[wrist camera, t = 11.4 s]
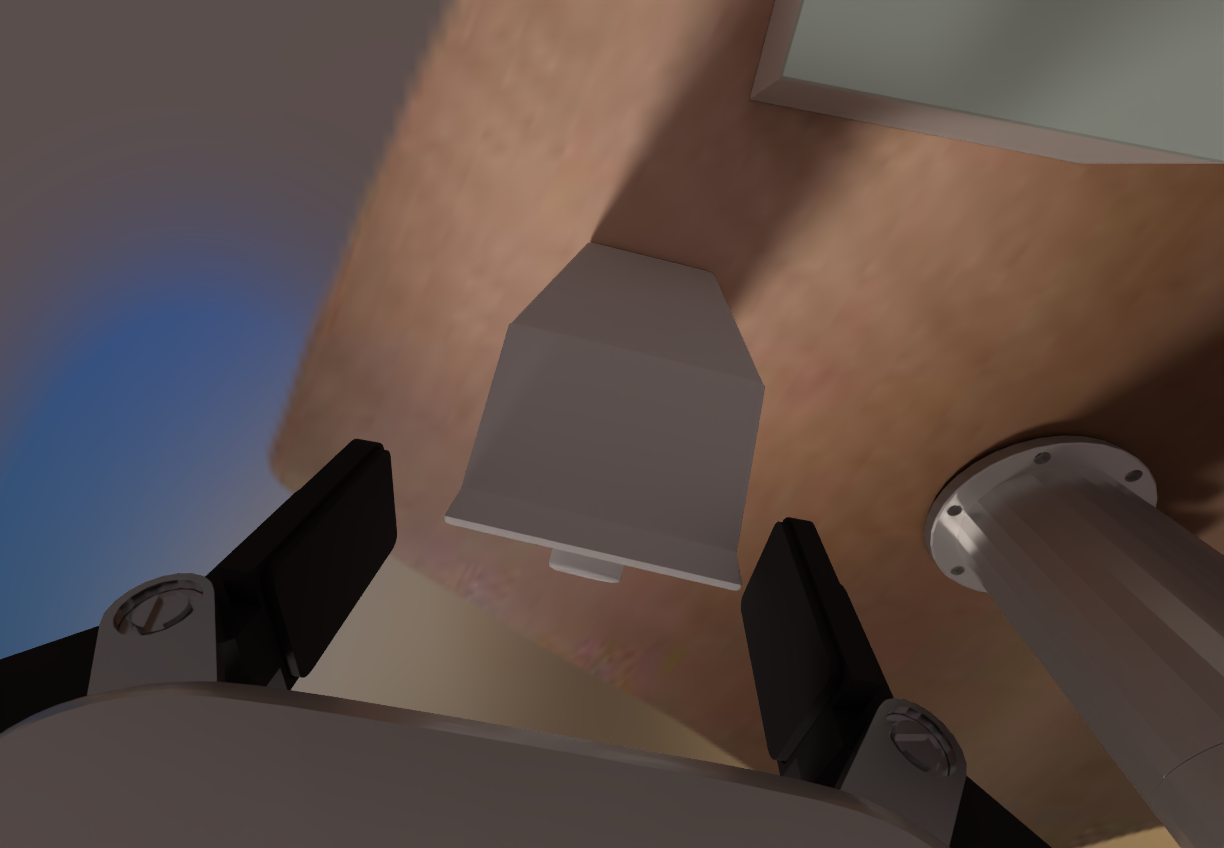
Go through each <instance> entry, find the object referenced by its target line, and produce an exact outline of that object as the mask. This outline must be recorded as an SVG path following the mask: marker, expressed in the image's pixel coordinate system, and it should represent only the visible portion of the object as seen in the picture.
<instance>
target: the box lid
mask: <svg viewBox="0 0 1224 848" xmlns="http://www.w3.org/2000/svg"><path fill="white" fill-rule="evenodd" d="M779 78H782V79H787V80H792V81H798V82H803V83H808V84H813V85H818V86H824V87H829V88H834V89H839V90H844V91H849V92H855V93H860V94H865V95H870V96H875V97H881V98H886V99H891V100H896V101H901V102H906V103H912V104H917V105H922V106H927V107H932V108H938V109H943V110H948V111H953V112H958V113H964V114H969V115H974V116H979V117H984V118H989V119H995V120H1000V121H1005V122H1010V123H1015V124H1021V125H1026V126H1031V127H1036V128H1041V129H1046V130H1052V131H1057V132H1062V133H1067V134H1072V135H1078V136H1083V137H1088V138H1093V139H1098V140H1104V141H1109V142H1114V143H1119V144H1124V145H1129V146H1135V147H1140V148H1145V149H1150V150H1155V151H1161V152H1166V153H1171V154H1176V155H1181V156H1187V157H1192V158H1197V159H1202V160H1207V161H1212V162H1218V163H1223V164H1224V0H801V2H800V6H799V9H798V13H797V16H796V20H795V23H794V27H793V30H792V34H791V37H790V41H789V44H788V48H787V51H786V55H785V58H784V62H783V66H782V69H781V73H780V76H779Z"/></svg>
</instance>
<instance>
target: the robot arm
mask: <svg viewBox="0 0 1224 848" xmlns="http://www.w3.org/2000/svg"><path fill="white" fill-rule="evenodd" d="M1157 499H1158V495H1157V486H1156V482H1155V480H1154V478H1153V476H1152V474H1151V472H1150V470H1149V469H1148V468H1147V467H1146V466H1145V465H1144V464H1143V463H1142V462H1141V461H1140V460H1139V459H1138V458H1136V457H1135V456H1133V455H1132V454H1130V453H1129V452H1127V451H1125V450H1124V449H1122V448H1121V447H1119V446H1116V445H1114V444H1111V443H1109V442H1107V441H1104V440H1100V439H1095V438H1090V437H1085V436H1053V437H1044V438H1037V439H1033V440H1029V441H1025V442H1021V443H1017V444H1014V445H1012V446H1009V447H1006V448H1004V449H1001V450H999V451H996V452H994V453H992V454H990V455H988V456H986V457H984V458H983V459H981V460H979V461H977V462H975V463H974V464H972V465H971V466H970V467H968V468H967V469H965V470H964V471H963V472H961V473H960V474H959V475H957V476H956V477H955V478H954V479H953V480H952V481H951V482H950V483H949V484H948V485H947V486H946V487H945V488H944V489H943V490H942V492H941V493H940V494H939V496H938V497H937V499H936V500H935V501H934V503H933V505H932V507H931V509H930V512H929V514H928V516H927V520H926V525H925V530H924V531H925V543H926V546H927V548H928V551H929V553H930V555H931V557H932V558H933V560H934V561H935V562H936V564H937V566H938V567H939V569H940V570H941V571H942V572H943V573H944V574H945V575H946V576H947V577H949V578H950V579H952V580H954V581H955V582H957V583H958V584H960V585H962V586H965V587H968V588H970V589H973V590H976V591H981V592H986V593H989V595H990V596H991V597H992V599H993V600H994V601H995V603H996V604H997V605H998V607H999V608H1000V609H1001V611H1002V612H1003V613H1004V615H1005V616H1006V617H1007V619H1008V620H1009V621H1010V623H1011V624H1012V625H1013V627H1014V628H1015V629H1016V631H1017V632H1018V633H1019V635H1020V636H1021V637H1022V639H1023V640H1024V641H1025V643H1026V644H1027V645H1028V647H1029V648H1030V649H1031V651H1032V652H1033V653H1034V654H1035V656H1036V657H1037V658H1038V660H1039V661H1040V662H1041V664H1042V665H1043V666H1044V668H1045V669H1046V670H1047V672H1048V673H1049V674H1050V676H1051V677H1052V678H1053V680H1054V681H1055V682H1056V684H1057V685H1058V686H1059V688H1060V689H1061V690H1062V692H1063V693H1064V694H1065V696H1066V697H1067V698H1068V700H1069V701H1070V702H1071V704H1072V705H1073V706H1074V708H1075V709H1076V710H1077V712H1078V713H1079V714H1080V716H1081V717H1082V718H1083V720H1084V721H1085V722H1086V723H1087V725H1088V726H1089V727H1090V729H1091V730H1092V731H1093V733H1094V734H1095V735H1096V737H1097V738H1098V739H1099V741H1100V742H1101V743H1102V745H1103V746H1104V747H1105V749H1106V750H1107V751H1108V753H1109V754H1110V755H1111V757H1112V758H1113V759H1114V761H1115V762H1116V763H1117V765H1118V766H1119V767H1120V769H1121V770H1122V771H1123V773H1124V774H1125V775H1126V777H1127V778H1128V779H1129V781H1130V782H1131V783H1132V785H1133V786H1134V787H1135V789H1136V790H1137V791H1138V792H1139V794H1140V795H1141V796H1142V798H1143V799H1144V800H1145V802H1146V803H1147V804H1148V806H1149V807H1150V808H1151V810H1152V811H1153V812H1154V814H1155V815H1156V816H1157V817H1158V818H1159V820H1160V821H1161V822H1162V824H1163V825H1164V826H1165V828H1166V829H1167V830H1168V832H1169V833H1170V834H1171V835H1172V837H1173V838H1174V839H1175V841H1176V842H1177V843H1178V845H1179V846H1180V847H1181V848H1224V555H1222V554H1221V553H1220V552H1218V551H1217V550H1215V549H1214V548H1212V547H1211V546H1210V545H1208V544H1207V543H1205V542H1204V541H1202V540H1201V539H1200V538H1198V537H1197V536H1195V535H1194V534H1192V533H1191V532H1190V531H1188V530H1187V529H1185V528H1184V527H1182V526H1181V525H1180V524H1178V523H1177V522H1175V521H1174V520H1173V519H1171V518H1170V517H1168V516H1167V515H1165V514H1164V513H1163V512H1161V511H1160V510H1158V509H1157V508H1156V504H1157ZM396 539H397V527H396V515H395V503H394V492H393V480H392V468H391V456H390V453H389V451H387V450H384V447H383V445H382V444H381V443H378V442H372V441H367V440H361V439H354V440H352V441H351V442H350V443H349V444H348V445H347V446H346V447H345V448H344V449H342V450H341V451H340V452H339V453H338V454H337V455H336V456H335V457H334V458H333V459H332V460H331V461H330V462H329V463H328V464H326V465H325V466H324V467H323V468H322V469H321V470H320V471H319V472H318V473H317V474H316V475H315V476H314V477H313V478H312V479H311V480H309V481H308V482H307V483H306V484H305V485H304V486H303V487H302V488H301V489H300V490H298V491H297V492H295V493H294V494H293V495H292V496H291V497H290V498H289V499H288V500H287V501H286V502H285V503H283V504H282V505H281V506H280V507H279V508H278V509H277V510H276V511H275V512H274V513H273V514H272V515H271V516H270V517H268V518H267V519H266V520H265V521H264V522H263V523H262V524H261V525H260V526H259V527H258V528H257V529H256V530H255V531H254V532H253V533H251V534H250V535H249V536H248V537H247V538H246V539H245V540H244V541H243V542H242V543H241V544H240V545H239V546H238V547H236V548H235V549H234V550H233V551H232V552H231V553H230V554H229V555H228V556H227V557H226V558H225V559H224V560H223V561H221V562H220V563H219V564H218V565H217V566H216V567H215V568H214V569H213V570H212V571H211V572H210V573H209V574H208V575H207V576H205V577H204V576H201V575H197V574H193V573H177V574H172V575H167V576H162V577H159V578H156V579H153V580H150V581H147V582H145V583H143V584H141V585H139V586H137V587H135V588H133V589H131V590H130V591H128V592H126V593H125V594H124V595H123V596H121V597H120V598H118V599H117V600H116V601H114V603H113V604H112V605H111V606H110V607H109V608H108V609H107V610H106V612H105V613H104V615H103V617H102V620H101V622H100V625H99V626H97V627H94V628H91V629H88V630H85V631H83V632H80V633H77V634H74V635H71V636H68V637H65V638H62V639H59V640H56V641H53V642H50V643H47V644H44V645H42V646H38V647H35V648H33V649H30V650H27V651H24V652H21V653H18V654H15V655H12V656H9V657H6V658H3V659H1V660H0V848H1051V847H1050V846H1049V845H1048V844H1047V843H1045V842H1044V841H1043V840H1042V839H1041V838H1039V837H1038V836H1037V835H1036V834H1035V833H1034V832H1032V831H1031V830H1030V829H1029V828H1028V827H1026V826H1025V825H1024V824H1023V823H1022V822H1021V821H1019V820H1018V819H1017V818H1016V817H1015V816H1013V815H1012V814H1011V813H1010V812H1009V811H1008V810H1006V809H1005V808H1004V807H1003V806H1002V805H1000V804H999V803H998V802H997V801H996V800H995V799H993V798H992V797H991V796H990V795H989V794H987V793H986V792H985V791H984V790H983V789H982V788H980V787H979V786H978V785H977V784H976V783H974V782H973V781H972V780H971V779H970V778H969V777H967V776H966V772H967V763H966V760H965V757H964V754H963V751H962V749H961V747H960V745H959V744H958V742H957V740H956V738H955V737H954V735H953V734H952V733H951V732H950V731H949V729H948V728H947V727H946V726H945V725H944V723H943V722H941V721H940V720H939V719H938V718H937V717H936V716H934V715H933V714H932V713H931V712H930V711H928V710H926V709H925V708H923V707H922V706H920V705H918V704H916V703H914V702H911V701H908V700H906V699H899V698H893V695H892V693H891V691H890V689H889V686H888V684H887V682H886V680H885V677H884V675H883V673H882V671H881V668H880V666H879V664H878V662H877V659H876V657H875V655H874V653H873V650H872V648H871V646H870V644H869V641H868V639H867V637H866V635H865V632H864V630H863V628H862V626H861V623H860V621H859V619H858V617H857V614H856V612H855V610H854V607H853V605H852V603H851V601H850V598H849V596H848V594H847V592H846V590H845V589H844V587H843V586H842V585H841V584H840V583H839V581H838V578H837V576H836V574H835V571H834V569H833V567H832V565H831V562H830V560H829V558H828V555H827V553H826V551H825V549H824V546H823V544H822V542H821V539H820V537H819V535H818V533H817V530H816V528H815V526H814V524H813V523H812V522H811V521H806V520H801V519H795V518H790V517H787V518H785V519H784V520H783V522H777V523H776V524H775V526H774V528H773V530H772V532H771V534H770V536H769V539H768V541H767V543H766V545H765V548H764V550H763V552H762V554H761V556H760V559H759V561H758V563H757V565H756V567H755V570H754V572H753V574H752V576H751V578H750V581H749V583H748V585H747V587H746V590H745V592H744V594H743V597H742V601H741V612H742V617H743V623H744V628H745V633H746V638H747V643H748V648H749V654H750V659H751V664H752V669H753V674H754V680H755V685H756V690H757V695H758V700H759V705H760V711H761V716H762V721H763V726H764V731H765V736H766V742H767V747H768V751H769V754H770V757H771V758H772V759H774V760H777V762H778V767H779V772H780V775H775V774H770V773H765V772H760V771H755V770H750V769H744V768H739V767H734V766H729V765H724V764H719V763H714V762H708V761H702V760H697V759H691V758H685V757H680V756H674V755H669V754H663V753H658V752H652V751H647V750H641V749H635V748H630V747H624V746H619V745H613V744H607V743H602V742H596V741H590V740H585V739H578V738H573V737H567V736H561V735H556V734H550V733H544V732H539V731H533V730H526V729H521V728H515V727H510V726H504V725H498V724H492V723H486V722H481V721H475V720H468V719H463V718H458V717H451V716H445V715H440V714H434V713H428V712H421V711H416V710H410V709H404V708H397V707H391V706H386V705H380V704H374V703H368V702H362V701H356V700H350V699H344V698H338V697H332V696H325V695H318V694H311V693H305V692H298V691H291V688H292V687H293V686H294V684H295V683H296V681H297V680H298V678H299V677H306V676H307V675H308V674H309V673H310V672H311V671H312V669H313V668H314V666H315V665H316V663H317V662H318V660H319V659H320V657H321V656H322V654H323V653H324V651H325V650H326V648H327V647H328V645H329V644H330V642H331V641H332V639H333V638H334V636H335V634H336V633H337V632H338V630H339V629H340V627H341V626H342V624H343V623H344V621H345V620H346V618H347V617H348V615H349V614H350V612H351V611H352V609H353V608H354V606H355V605H356V603H357V602H358V600H359V599H360V597H361V596H362V594H363V593H364V591H365V590H366V588H367V587H368V585H369V584H370V582H371V581H372V579H373V578H374V576H375V575H376V573H377V572H378V570H379V569H380V567H381V566H382V564H383V563H384V561H385V560H386V558H387V557H388V555H389V554H390V552H391V551H392V549H393V547H394V545H395V542H396Z"/></svg>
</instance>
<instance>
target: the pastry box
mask: <svg viewBox="0 0 1224 848" xmlns="http://www.w3.org/2000/svg"><path fill="white" fill-rule="evenodd" d="M800 2H801V0H775V3H774V7H773V11H772V14H771V18H770V22H769V26H768V30H767V34H766V38H765V41H764V45H763V49H762V53H761V57H760V61H759V65H758V69H757V72H756V76H755V80H754V84H753V88H752V92H751V96H750V99H749V100H754V101H759V102H764V103H769V104H774V105H779V106H785V107H790V108H795V109H800V110H805V111H811V112H816V113H821V114H826V115H831V116H836V117H842V118H847V119H852V120H857V121H862V122H868V123H873V124H878V125H883V126H888V127H893V128H899V129H904V130H909V131H914V132H919V133H925V134H930V135H935V136H940V137H945V138H950V139H956V140H961V141H966V142H971V143H976V144H982V145H987V146H992V147H997V148H1002V149H1007V150H1013V151H1018V152H1023V153H1028V154H1033V155H1039V156H1044V157H1049V158H1054V159H1059V160H1064V161H1070V162H1075V163H1218V162H1212V161H1207V160H1202V159H1197V158H1192V157H1187V156H1181V155H1176V154H1171V153H1166V152H1161V151H1155V150H1150V149H1145V148H1140V147H1135V146H1129V145H1124V144H1119V143H1114V142H1109V141H1104V140H1098V139H1093V138H1088V137H1083V136H1078V135H1072V134H1067V133H1062V132H1057V131H1052V130H1046V129H1041V128H1036V127H1031V126H1026V125H1021V124H1015V123H1010V122H1005V121H1000V120H995V119H989V118H984V117H979V116H974V115H969V114H964V113H958V112H953V111H948V110H943V109H938V108H932V107H927V106H922V105H917V104H912V103H906V102H901V101H896V100H891V99H886V98H881V97H875V96H870V95H865V94H860V93H855V92H849V91H844V90H839V89H834V88H829V87H824V86H818V85H813V84H808V83H803V82H798V81H792V80H787V79H782V78H779V76H780V73H781V69H782V66H783V62H784V58H785V55H786V51H787V48H788V44H789V41H790V37H791V34H792V30H793V27H794V23H795V20H796V16H797V13H798V9H799V6H800Z"/></svg>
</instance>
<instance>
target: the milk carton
mask: <svg viewBox="0 0 1224 848" xmlns="http://www.w3.org/2000/svg"><path fill="white" fill-rule="evenodd" d="M764 390H765V385H764V384H763V383H762V380H761V378H760V376H759V374H758V371H757V369H756V367H755V365H754V363H753V360H752V358H751V356H750V354H749V351H748V349H747V347H746V345H745V342H744V340H743V338H742V336H741V333H740V331H739V329H738V327H737V324H736V322H735V320H734V318H733V315H732V313H731V311H730V309H729V307H728V304H727V302H726V300H725V298H724V295H723V293H722V291H721V289H720V286H719V284H718V282H717V280H716V277H715V275H714V274H713V273H711V272H708V271H705V270H701V269H697V268H693V267H689V266H685V265H681V264H677V263H673V262H669V261H665V260H661V259H657V258H653V257H649V256H645V255H641V254H637V253H633V252H629V251H625V250H621V249H617V248H612V247H608V246H604V245H600V244H596V243H588V244H586V246H585V247H584V248H583V249H582V250H581V251H580V252H579V253H578V254H577V255H576V256H575V257H574V258H573V259H572V260H571V261H570V262H569V263H568V264H567V265H566V266H565V268H564V269H563V270H562V271H561V272H560V273H559V274H558V275H557V276H556V277H555V278H554V279H553V280H552V281H551V282H550V283H549V284H548V285H547V286H546V287H545V289H544V290H543V291H542V292H541V293H540V294H539V295H538V296H537V297H536V298H535V299H534V300H533V301H532V302H531V303H530V304H529V305H528V306H527V307H526V308H525V309H524V311H523V312H522V313H521V314H520V315H519V316H518V317H517V318H516V319H515V320H514V321H513V322H512V323H510V324H509V327H508V330H507V333H506V337H505V340H504V344H503V347H502V350H501V354H500V357H499V361H498V364H497V368H496V371H495V374H494V378H493V381H492V385H491V388H490V392H489V395H488V398H487V402H486V405H485V409H484V412H483V415H482V419H481V422H480V426H479V429H478V433H477V436H476V439H475V443H474V446H473V450H472V453H471V456H470V460H469V463H468V467H467V470H466V474H465V477H464V480H463V484H462V487H461V490H460V491H459V493H458V495H457V496H456V498H455V499H454V501H453V503H452V504H451V506H450V507H449V509H448V511H447V512H446V514H445V519H444V520H445V522H447V523H448V524H451V525H456V526H460V527H464V528H468V529H473V530H477V531H481V532H486V533H490V534H494V535H498V536H503V537H507V538H511V539H516V540H520V541H524V542H528V543H533V544H537V545H541V546H546V547H550V548H554V549H553V550H552V554H551V558H550V561H549V565H550V567H552V568H553V569H555V570H558V571H562V572H565V573H569V574H573V575H577V576H582V577H586V578H590V579H595V580H600V581H605V582H611V583H615V582H619V581H620V579H621V575H622V569H623V565H627V566H631V567H636V568H640V569H644V570H648V571H653V572H657V573H661V574H666V575H670V576H674V577H678V578H683V579H687V580H691V581H696V582H700V583H704V584H708V585H713V586H717V587H721V588H726V589H730V590H734V591H735V590H739V589H740V588H741V586H742V581H741V576H740V570H739V565H738V559H737V548H738V542H739V536H740V530H741V524H742V519H743V513H744V507H745V501H746V495H747V490H748V484H749V478H750V472H751V466H752V460H753V455H754V449H755V443H756V437H757V431H758V425H759V420H760V414H761V408H762V402H763V396H764Z"/></svg>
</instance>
